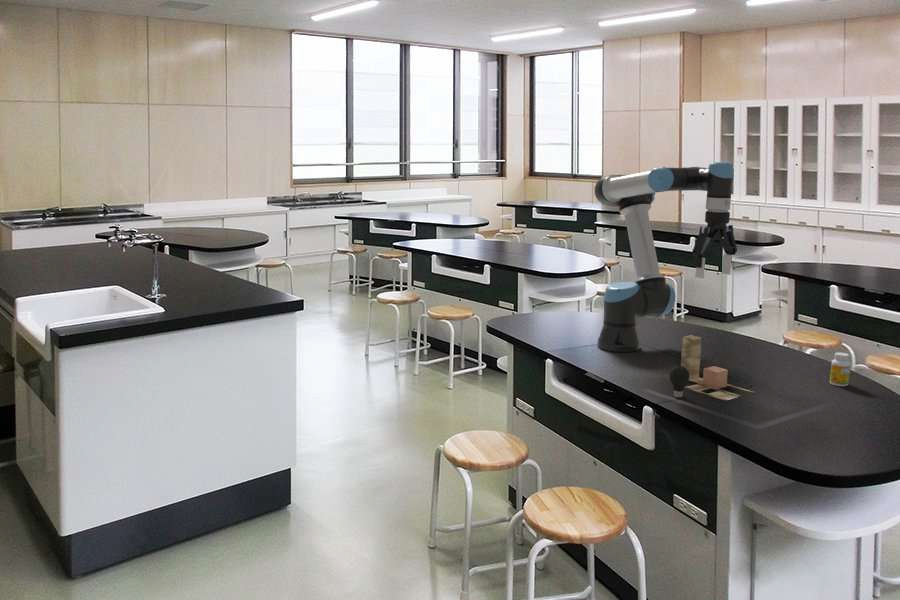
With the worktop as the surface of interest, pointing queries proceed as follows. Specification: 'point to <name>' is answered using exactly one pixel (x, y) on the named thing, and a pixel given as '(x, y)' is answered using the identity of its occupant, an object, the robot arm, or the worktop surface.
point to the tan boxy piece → (692, 357)
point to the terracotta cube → (715, 377)
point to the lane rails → (719, 390)
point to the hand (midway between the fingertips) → (712, 275)
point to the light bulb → (679, 379)
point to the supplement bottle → (840, 370)
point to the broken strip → (717, 393)
